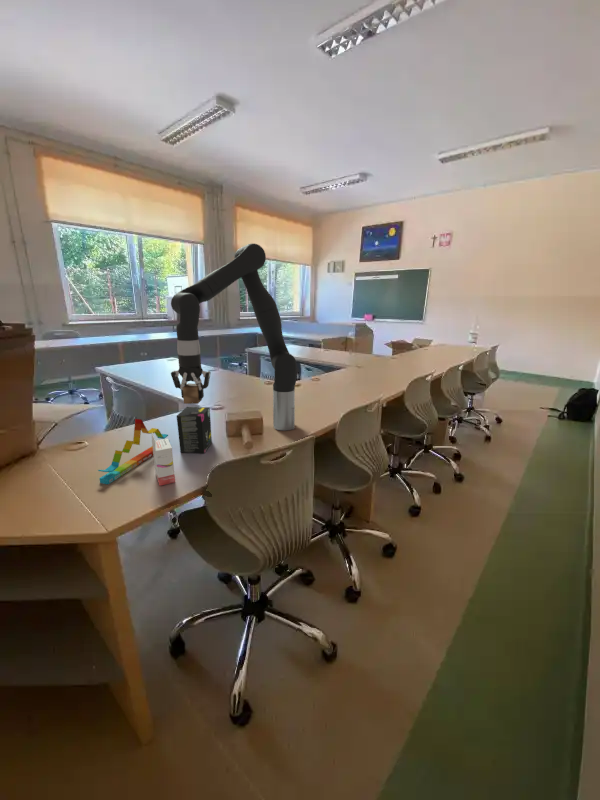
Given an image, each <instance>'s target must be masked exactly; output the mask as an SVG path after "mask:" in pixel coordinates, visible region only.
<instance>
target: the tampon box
mask: <svg viewBox="0 0 600 800" xmlns="http://www.w3.org/2000/svg"><path fill="white" fill-rule="evenodd" d="M176 422H177V423H176V425H177V433H178V441H179V452H180V453H183V454H184V453H186V454H187V453H188V454H206V452H207V450H208V449H209V447H210V446H211V445H212V443H213V437H212V423H211V407H207V406H205V407H202V406H186V407H185V408H184V409H183V410H182V411H181V412H178V414H177V415H176Z"/></svg>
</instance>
